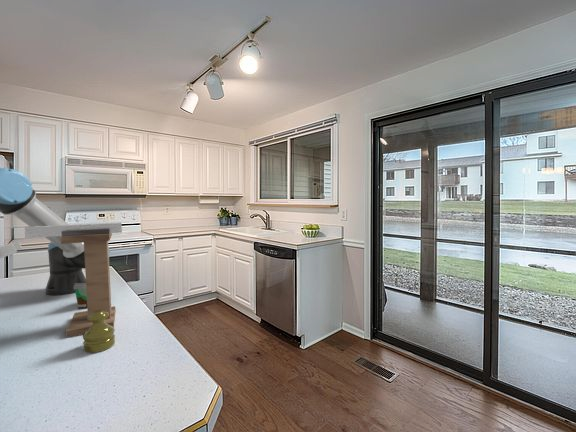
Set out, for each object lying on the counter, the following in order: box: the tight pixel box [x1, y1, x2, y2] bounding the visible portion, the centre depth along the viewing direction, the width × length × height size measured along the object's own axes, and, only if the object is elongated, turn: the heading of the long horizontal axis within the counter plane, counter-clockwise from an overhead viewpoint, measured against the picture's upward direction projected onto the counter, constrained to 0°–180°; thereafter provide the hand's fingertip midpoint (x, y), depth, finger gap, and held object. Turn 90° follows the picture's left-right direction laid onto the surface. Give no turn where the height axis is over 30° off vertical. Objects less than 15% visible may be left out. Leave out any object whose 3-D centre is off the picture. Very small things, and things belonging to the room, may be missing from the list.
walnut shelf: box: [61, 229, 116, 339], centre depth 95 cm, size 16×12×32 cm
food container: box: [73, 282, 87, 310], centre depth 113 cm, size 12×6×10 cm, turn 168°
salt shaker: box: [82, 310, 116, 354], centre depth 81 cm, size 7×7×10 cm
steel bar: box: [24, 222, 123, 239], centre depth 90 cm, size 3×24×3 cm, turn 119°
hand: (17, 245), depth 87 cm, fingers open, 13 cm apart
